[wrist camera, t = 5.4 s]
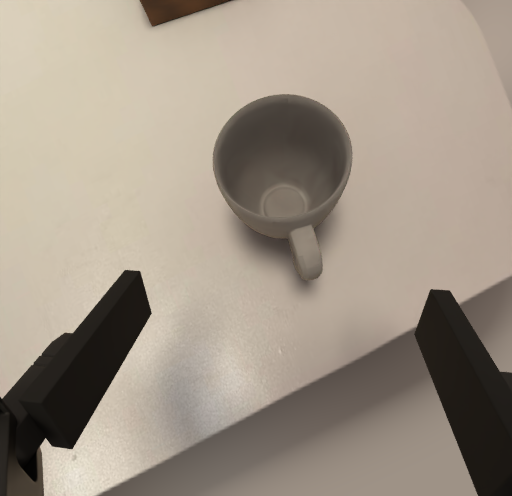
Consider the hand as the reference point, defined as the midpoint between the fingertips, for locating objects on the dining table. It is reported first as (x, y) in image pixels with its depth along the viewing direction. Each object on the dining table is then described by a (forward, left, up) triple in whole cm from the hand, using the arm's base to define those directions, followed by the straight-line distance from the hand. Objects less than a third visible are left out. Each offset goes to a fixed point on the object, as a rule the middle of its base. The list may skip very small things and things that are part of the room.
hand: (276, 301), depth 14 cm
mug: (-3, -7, -13) cm, 15 cm away
